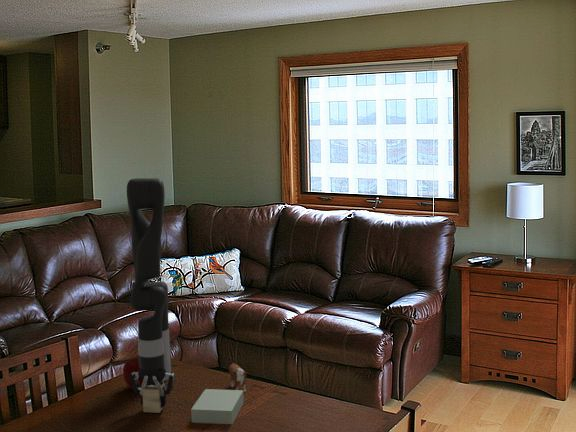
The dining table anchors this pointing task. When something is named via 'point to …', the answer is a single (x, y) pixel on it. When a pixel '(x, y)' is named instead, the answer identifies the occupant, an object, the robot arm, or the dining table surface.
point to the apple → (131, 371)
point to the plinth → (217, 406)
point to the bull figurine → (237, 376)
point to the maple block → (151, 399)
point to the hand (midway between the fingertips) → (153, 406)
